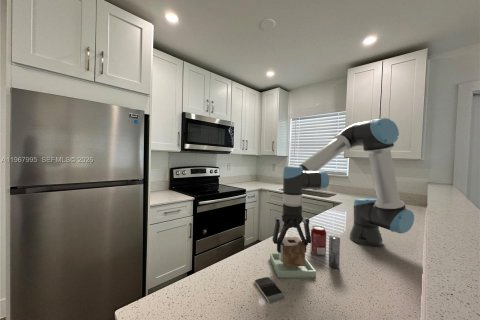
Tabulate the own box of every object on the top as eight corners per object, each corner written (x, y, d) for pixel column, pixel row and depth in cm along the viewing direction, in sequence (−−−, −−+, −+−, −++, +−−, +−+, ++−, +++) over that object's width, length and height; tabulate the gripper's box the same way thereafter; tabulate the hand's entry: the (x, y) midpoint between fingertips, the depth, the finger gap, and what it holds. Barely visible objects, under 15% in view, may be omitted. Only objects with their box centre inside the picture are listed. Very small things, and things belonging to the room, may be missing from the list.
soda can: (327, 257, 88) (327, 230, 88) (311, 255, 89) (312, 229, 89) (324, 250, 95) (324, 225, 94) (309, 248, 96) (309, 224, 96)
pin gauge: (335, 264, 82) (336, 235, 82) (341, 269, 78) (342, 239, 78) (326, 264, 82) (327, 235, 82) (331, 269, 78) (332, 239, 78)
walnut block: (297, 255, 83) (297, 237, 83) (304, 266, 75) (305, 245, 75) (279, 256, 83) (279, 237, 83) (284, 266, 75) (284, 245, 75)
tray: (301, 258, 86) (301, 252, 86) (315, 277, 72) (316, 271, 72) (270, 258, 86) (270, 253, 86) (278, 278, 71) (278, 271, 71)
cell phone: (268, 279, 71) (268, 275, 71) (285, 300, 61) (285, 295, 61) (253, 283, 69) (253, 279, 69) (268, 305, 59) (268, 300, 59)
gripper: (313, 202, 83) (312, 255, 83) (265, 202, 82) (264, 255, 82) (321, 206, 76) (320, 264, 76) (268, 206, 74) (267, 265, 74)
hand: (291, 259), depth 79 cm, fingers closed on walnut block, 8 cm apart
